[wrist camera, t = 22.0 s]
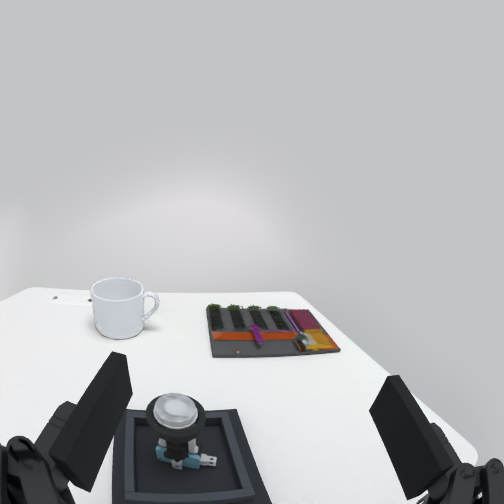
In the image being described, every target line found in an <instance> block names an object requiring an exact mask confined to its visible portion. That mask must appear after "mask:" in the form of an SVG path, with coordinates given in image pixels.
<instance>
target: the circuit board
mask: <svg viewBox="0 0 504 504" xmlns="http://www.w3.org/2000/svg"><path fill="white" fill-rule="evenodd" d="M211 304H212V303H211ZM231 305H232V304H231ZM210 306H211V307H210ZM220 307H221V305H217V304H212V305H208V306H207V309H206V310H207V318H208V326H209V333H210V341H211V348H212V355H213V357H278V356H296V355H310V354H322V353H332V352H340V350H341V349H340V348H339V347H338V346H337V344H336V343H335V342H334V341H333V339H332V338H331V337H330V336H329V335H328V333H327V332H326V331H325V330H324V328H323V327H322V326H321V325H320V323H319V322H318V321H317V320H316V319H315V317H314V316H313V315H312V314H311V312H310V311H309V310H304V309H303V310H287V308H286V309H280V308H279V309H277V306H271V307H267V308H268V309H261V307H259V306H254V305H253V306H249V308H247V309H240V308H239V307H240V306H239V305H236V306H235V305H232V306H228V307H227V308H220ZM231 307H232V308H231ZM242 308H243V306H242ZM259 308H260V309H259Z"/></svg>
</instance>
